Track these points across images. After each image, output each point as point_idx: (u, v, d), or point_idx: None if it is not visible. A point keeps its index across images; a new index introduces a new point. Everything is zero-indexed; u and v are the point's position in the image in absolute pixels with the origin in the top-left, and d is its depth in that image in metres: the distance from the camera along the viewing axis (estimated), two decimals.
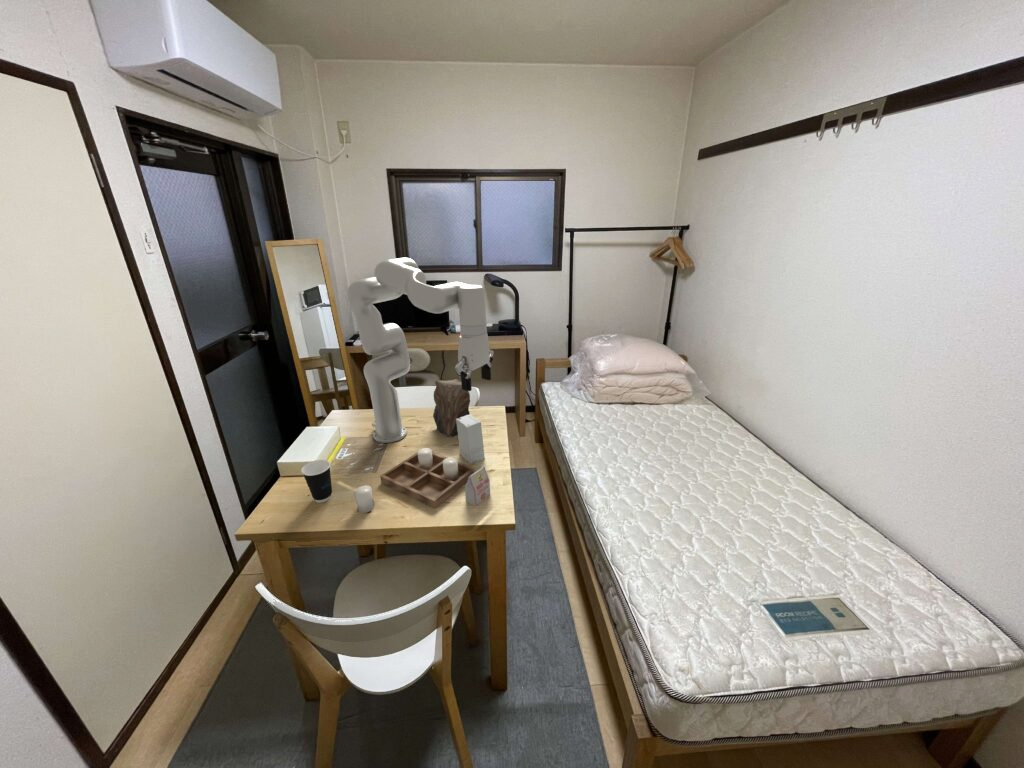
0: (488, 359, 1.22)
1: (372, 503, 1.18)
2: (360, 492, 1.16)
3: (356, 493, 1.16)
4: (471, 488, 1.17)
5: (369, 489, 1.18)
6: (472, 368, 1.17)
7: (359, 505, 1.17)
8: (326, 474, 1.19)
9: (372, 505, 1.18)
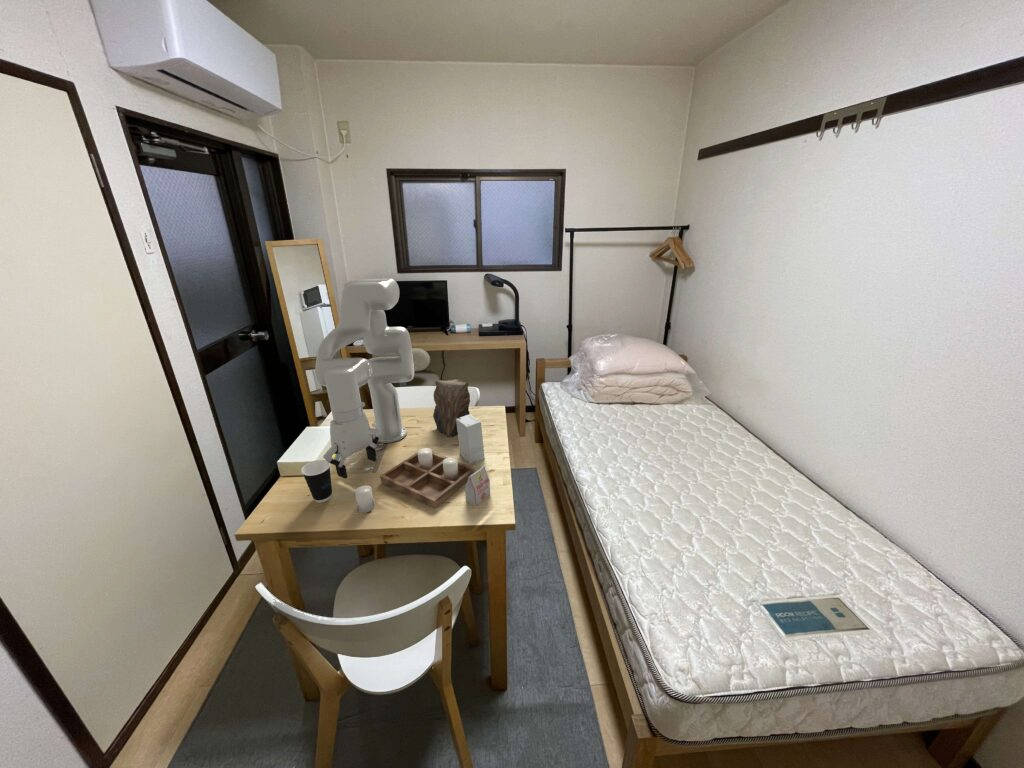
0: (369, 441, 1.13)
1: (372, 503, 1.18)
2: (360, 492, 1.16)
3: (356, 493, 1.16)
4: (471, 488, 1.17)
5: (369, 489, 1.18)
6: (345, 455, 1.07)
7: (359, 505, 1.17)
8: (326, 474, 1.19)
9: (372, 505, 1.18)
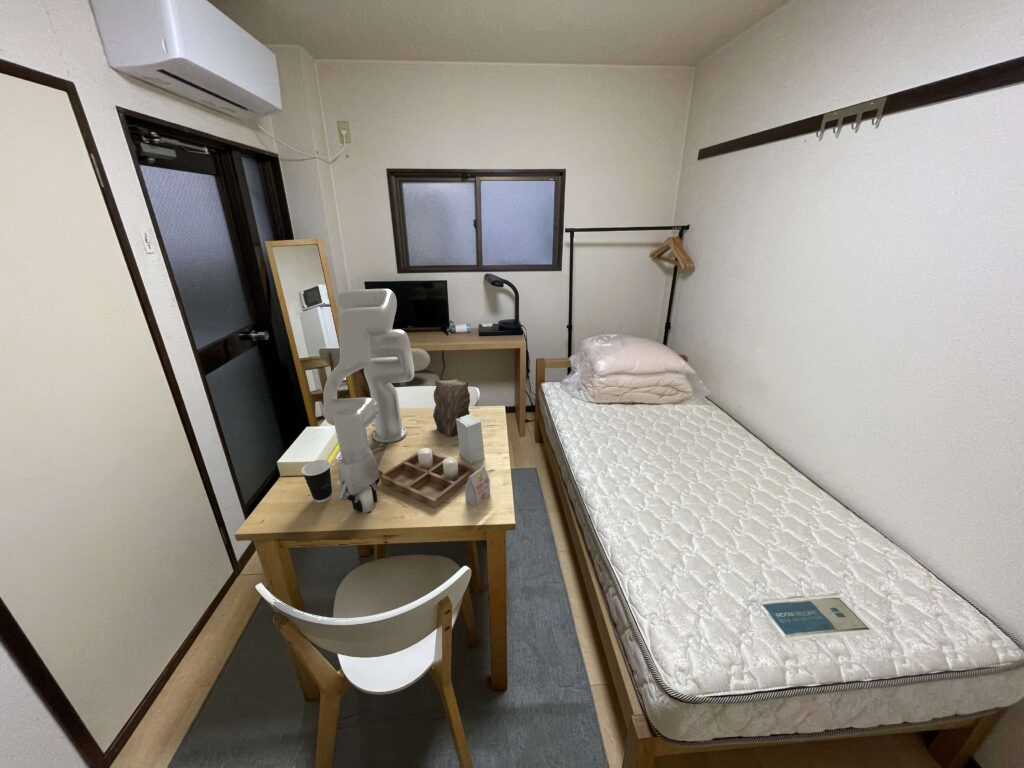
0: (376, 477, 1.18)
1: (372, 503, 1.18)
2: (360, 492, 1.16)
3: None
4: (471, 488, 1.17)
5: (369, 489, 1.18)
6: (354, 492, 1.12)
7: None
8: (326, 474, 1.19)
9: (372, 505, 1.18)
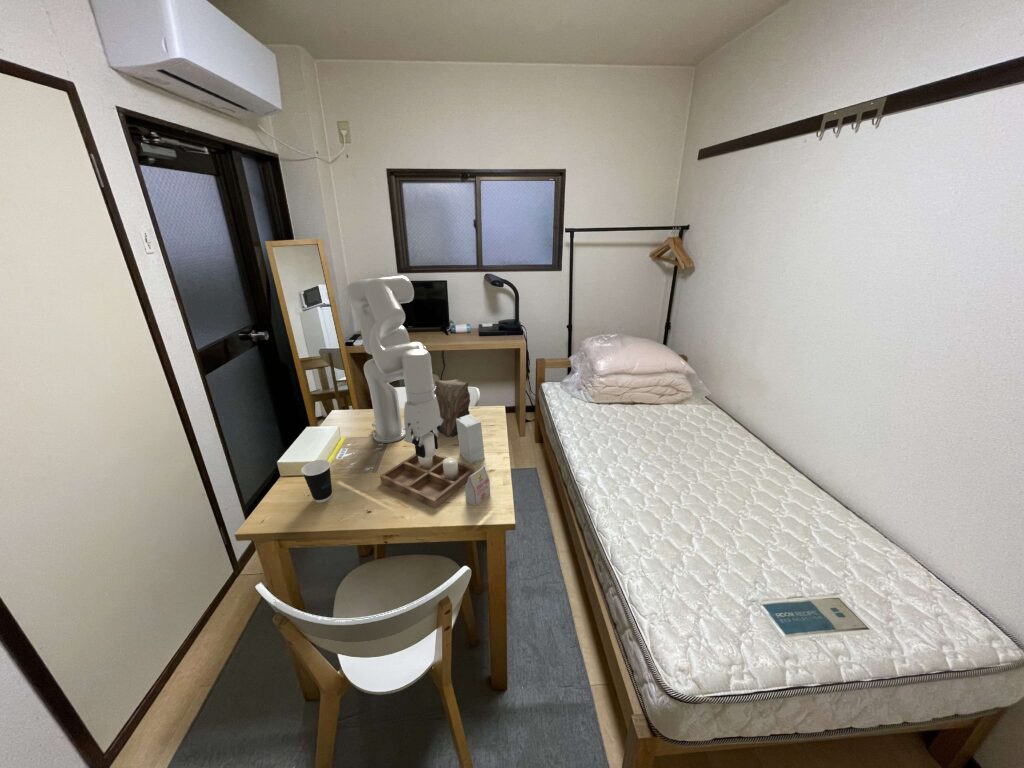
0: (438, 422, 1.17)
1: (434, 449, 1.17)
2: (423, 437, 1.15)
3: None
4: (471, 488, 1.17)
5: (431, 434, 1.17)
6: (419, 435, 1.11)
7: None
8: (326, 474, 1.19)
9: (434, 451, 1.17)
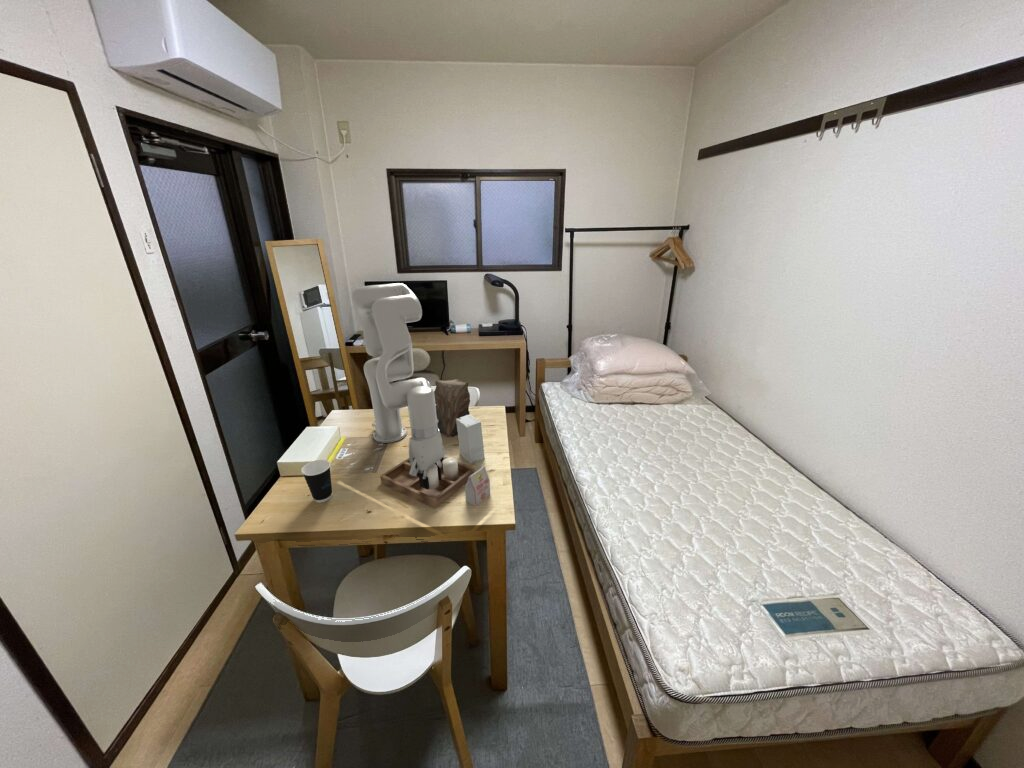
0: (442, 455, 1.21)
1: (437, 480, 1.21)
2: (427, 469, 1.20)
3: None
4: (471, 488, 1.17)
5: (435, 466, 1.21)
6: (423, 469, 1.15)
7: None
8: (326, 474, 1.19)
9: (437, 482, 1.21)
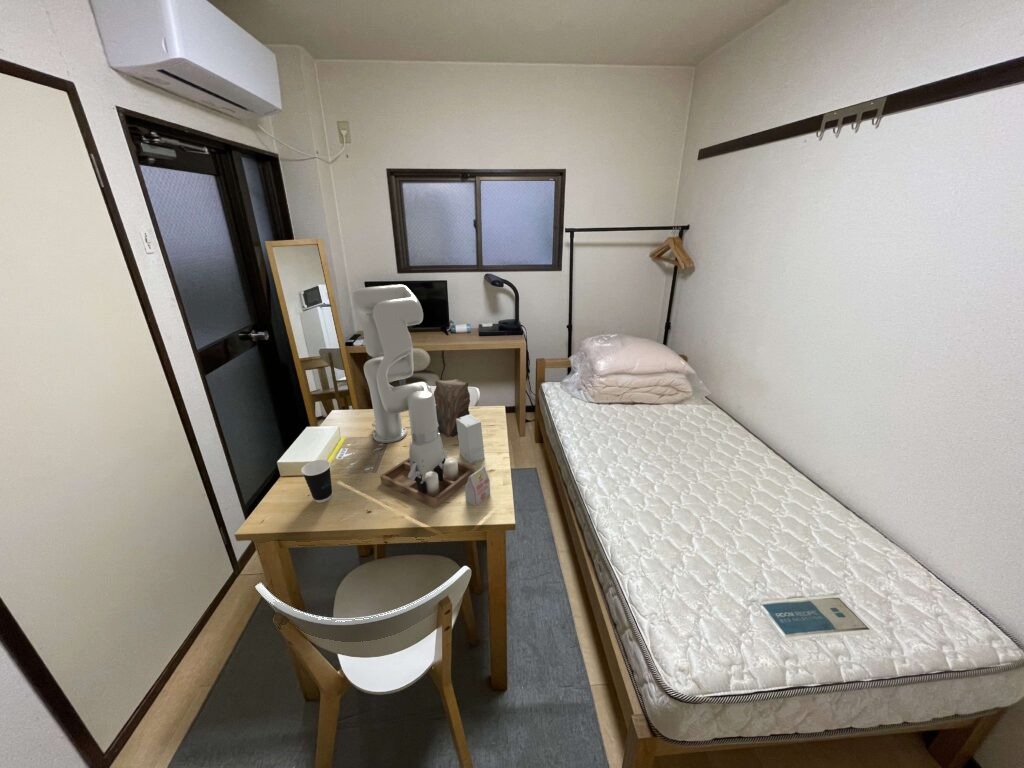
0: (442, 459, 1.22)
1: (438, 488, 1.23)
2: (428, 477, 1.21)
3: None
4: (471, 488, 1.17)
5: (436, 474, 1.22)
6: (423, 473, 1.16)
7: None
8: (326, 474, 1.19)
9: (438, 490, 1.23)
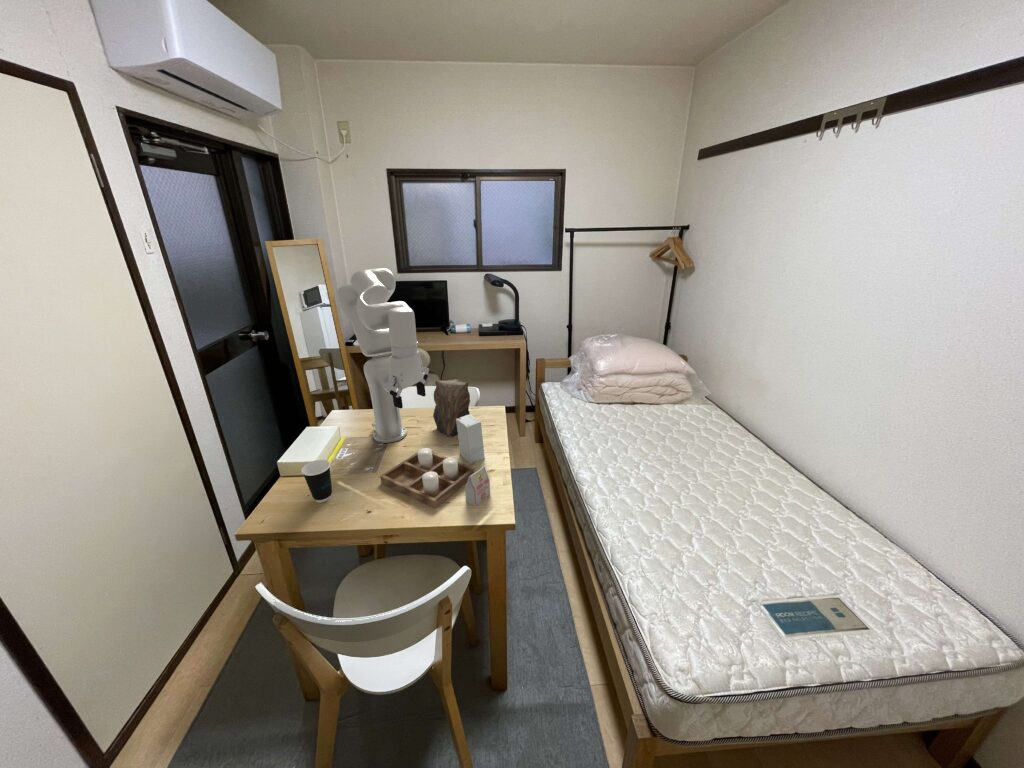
0: (421, 377, 1.26)
1: (438, 488, 1.23)
2: (428, 477, 1.21)
3: (424, 478, 1.20)
4: (471, 488, 1.17)
5: (436, 474, 1.22)
6: (402, 387, 1.21)
7: (426, 490, 1.21)
8: (326, 474, 1.19)
9: (438, 490, 1.23)
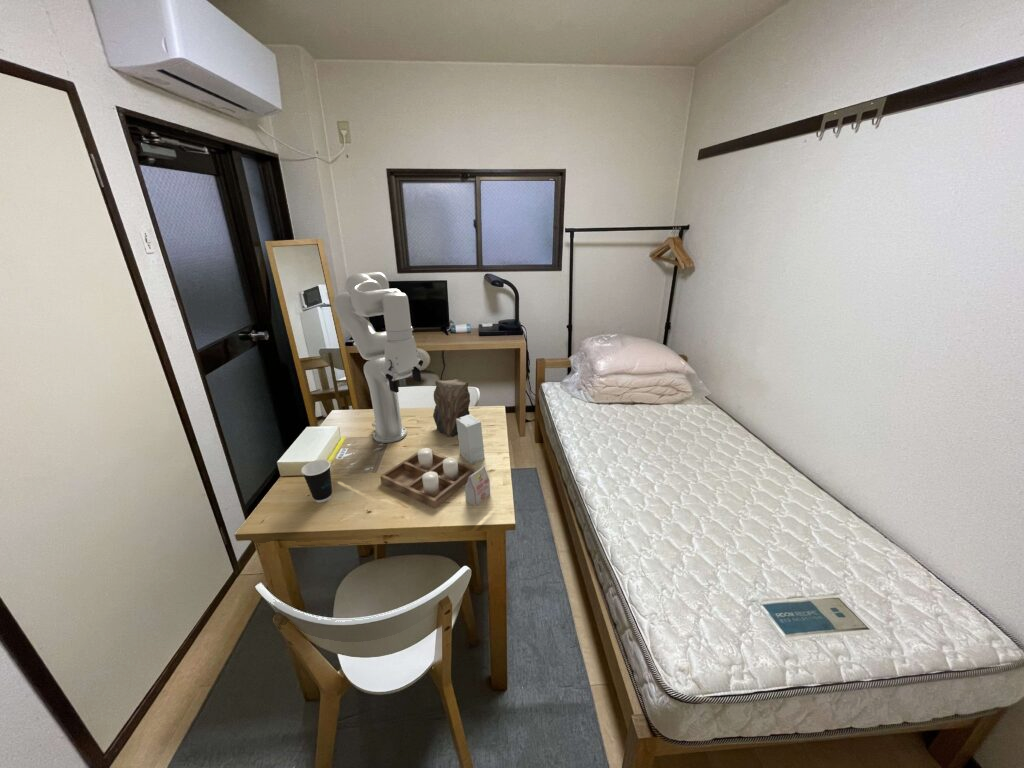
0: (416, 362, 1.29)
1: (438, 488, 1.23)
2: (428, 477, 1.21)
3: (424, 478, 1.20)
4: (471, 488, 1.17)
5: (436, 474, 1.22)
6: (398, 371, 1.23)
7: (426, 490, 1.21)
8: (326, 474, 1.19)
9: (438, 490, 1.23)
